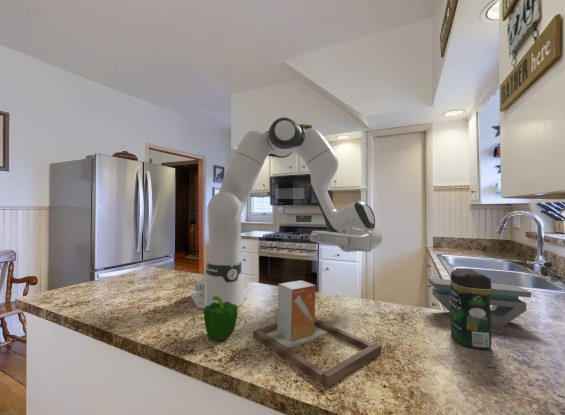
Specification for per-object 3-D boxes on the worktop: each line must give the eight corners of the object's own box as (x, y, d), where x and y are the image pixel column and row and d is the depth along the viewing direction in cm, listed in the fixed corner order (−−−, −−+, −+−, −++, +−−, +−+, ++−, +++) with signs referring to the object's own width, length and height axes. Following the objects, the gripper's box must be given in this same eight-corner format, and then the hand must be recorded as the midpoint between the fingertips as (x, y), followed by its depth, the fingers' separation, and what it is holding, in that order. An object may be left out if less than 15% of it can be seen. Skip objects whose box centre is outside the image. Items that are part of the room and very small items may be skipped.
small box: (290, 342, 64) (292, 289, 64) (276, 332, 69) (277, 283, 69) (315, 334, 68) (316, 284, 69) (300, 325, 74) (301, 279, 74)
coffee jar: (446, 331, 73) (446, 265, 74) (479, 335, 71) (479, 267, 71) (458, 347, 64) (459, 272, 64) (496, 353, 62) (497, 275, 62)
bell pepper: (243, 336, 67) (244, 297, 67) (215, 347, 61) (216, 305, 62) (225, 326, 73) (226, 290, 73) (198, 335, 67) (199, 296, 68)
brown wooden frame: (253, 336, 67) (253, 328, 67) (305, 318, 79) (305, 312, 79) (327, 387, 48) (328, 376, 48) (381, 353, 60) (381, 345, 60)
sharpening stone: (515, 319, 83) (515, 285, 83) (531, 329, 75) (531, 292, 76) (428, 309, 90) (428, 277, 91) (434, 317, 83) (434, 283, 83)
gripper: (326, 227, 96) (299, 226, 87) (377, 232, 80) (350, 232, 72) (325, 244, 96) (298, 245, 87) (376, 252, 80) (349, 254, 72)
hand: (322, 239), depth 79 cm, fingers open, 8 cm apart
